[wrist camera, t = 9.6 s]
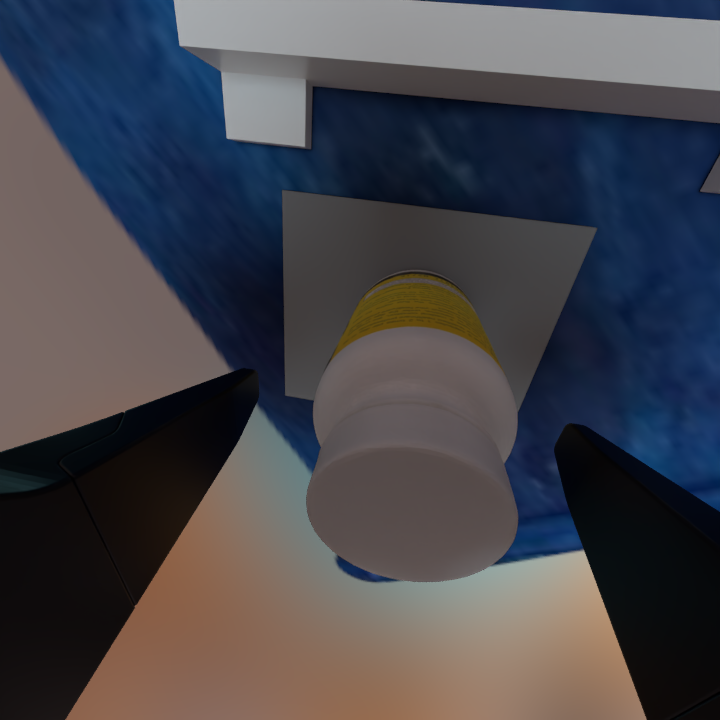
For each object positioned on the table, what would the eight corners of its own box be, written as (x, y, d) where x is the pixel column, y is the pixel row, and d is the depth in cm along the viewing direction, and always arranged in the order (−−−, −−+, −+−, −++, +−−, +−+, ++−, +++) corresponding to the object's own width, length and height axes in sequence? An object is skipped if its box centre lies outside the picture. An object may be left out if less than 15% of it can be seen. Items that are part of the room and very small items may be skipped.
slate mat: (590, 226, 12) (597, 228, 12) (505, 428, 17) (508, 434, 16) (286, 190, 13) (282, 189, 13) (288, 390, 18) (285, 395, 17)
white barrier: (937, -8, 8) (1173, -97, 6) (793, 201, 11) (914, 204, 8) (223, -48, 10) (157, -133, 7) (237, 141, 12) (190, 128, 10)
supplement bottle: (340, 280, 14) (224, 422, 5) (469, 254, 13) (583, 386, 4) (367, 384, 16) (315, 598, 8) (477, 370, 15) (563, 609, 6)
